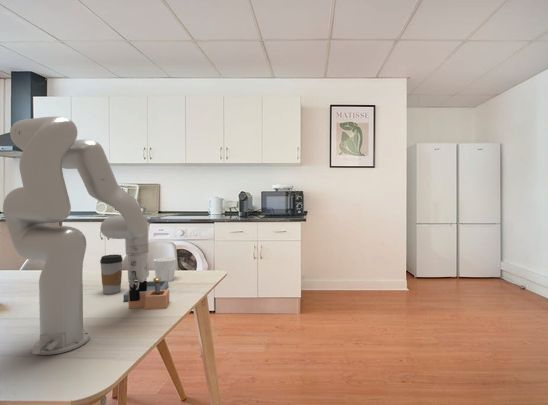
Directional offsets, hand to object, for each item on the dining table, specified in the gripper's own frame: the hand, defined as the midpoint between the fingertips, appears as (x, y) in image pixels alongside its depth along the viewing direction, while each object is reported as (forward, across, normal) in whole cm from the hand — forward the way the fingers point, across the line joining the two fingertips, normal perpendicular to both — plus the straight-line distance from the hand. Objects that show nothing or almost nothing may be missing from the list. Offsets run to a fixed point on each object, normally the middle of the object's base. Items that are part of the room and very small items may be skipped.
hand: (138, 295), depth 110 cm
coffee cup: (+4, +18, +15) cm, 24 cm away
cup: (+5, +34, -3) cm, 35 cm away
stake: (+4, -1, -7) cm, 8 cm away
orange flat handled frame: (+4, -1, -4) cm, 5 cm away
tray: (+4, +14, 0) cm, 15 cm away
